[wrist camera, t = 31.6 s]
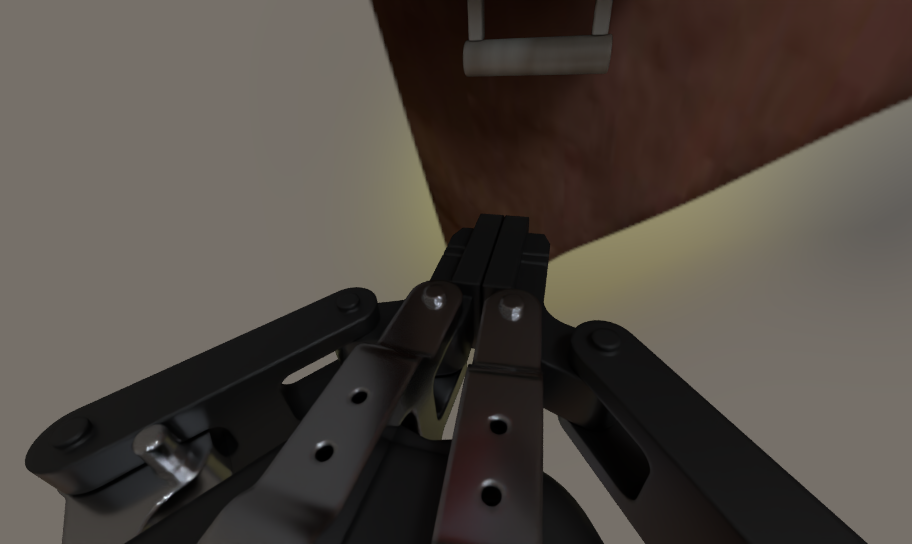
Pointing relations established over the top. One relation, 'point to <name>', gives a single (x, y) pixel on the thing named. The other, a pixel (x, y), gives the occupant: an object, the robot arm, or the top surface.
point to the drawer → (537, 49)
